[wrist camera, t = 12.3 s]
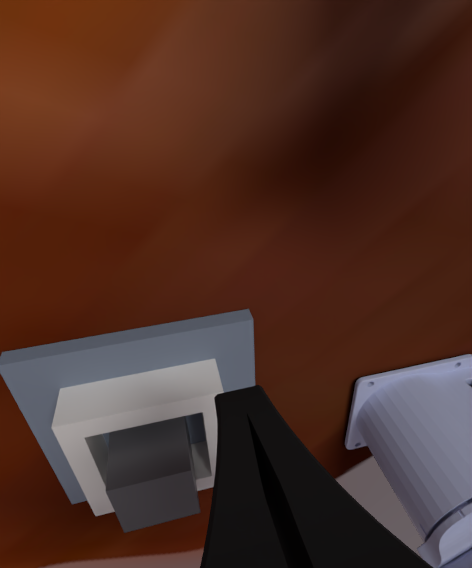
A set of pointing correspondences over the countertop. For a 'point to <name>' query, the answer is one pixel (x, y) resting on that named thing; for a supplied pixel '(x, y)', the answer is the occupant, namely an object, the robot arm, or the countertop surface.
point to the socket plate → (129, 392)
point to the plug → (151, 474)
